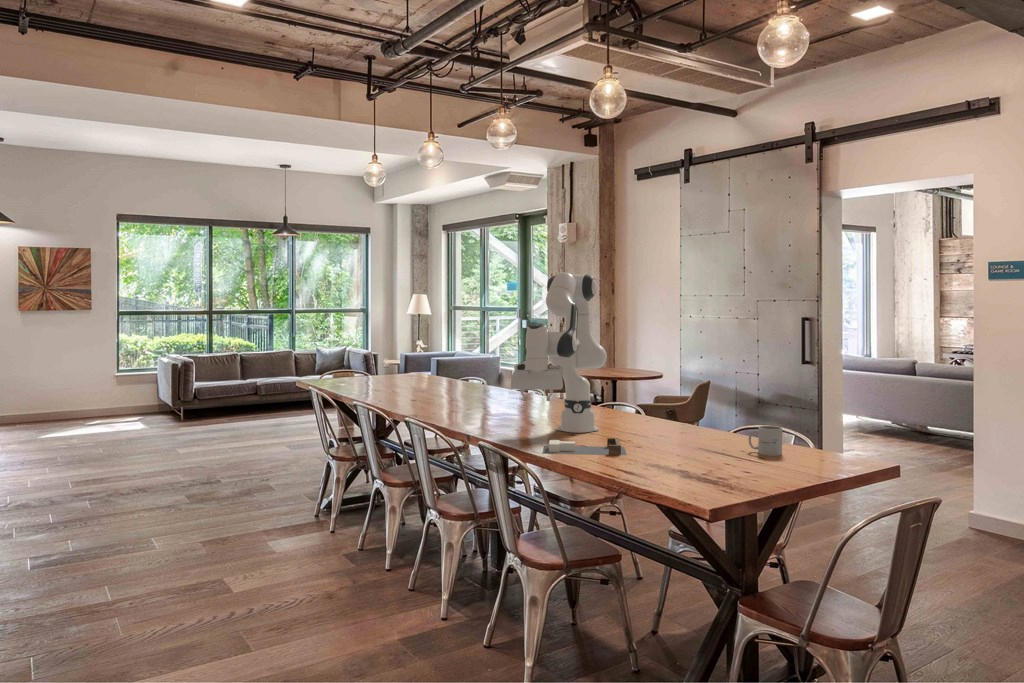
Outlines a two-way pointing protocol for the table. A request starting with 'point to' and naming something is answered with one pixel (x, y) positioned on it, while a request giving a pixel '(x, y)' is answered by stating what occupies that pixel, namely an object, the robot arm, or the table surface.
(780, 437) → the mug
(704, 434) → the table surface
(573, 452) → the mat
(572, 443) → the tee
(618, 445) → the dock
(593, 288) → the robot arm
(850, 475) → the table surface
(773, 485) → the table surface
